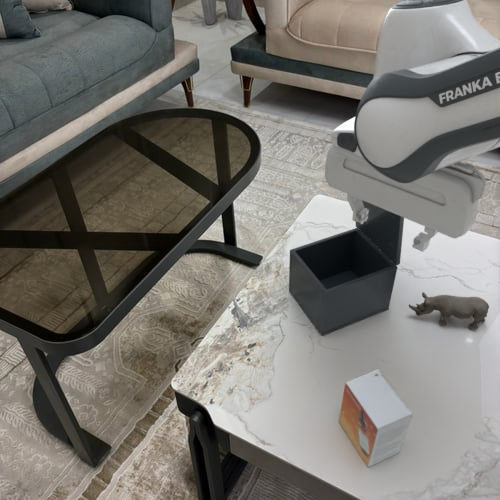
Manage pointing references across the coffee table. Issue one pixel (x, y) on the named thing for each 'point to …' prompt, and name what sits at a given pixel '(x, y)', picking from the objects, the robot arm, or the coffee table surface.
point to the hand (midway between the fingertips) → (388, 233)
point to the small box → (374, 417)
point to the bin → (341, 280)
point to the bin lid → (383, 231)
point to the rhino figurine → (454, 308)
